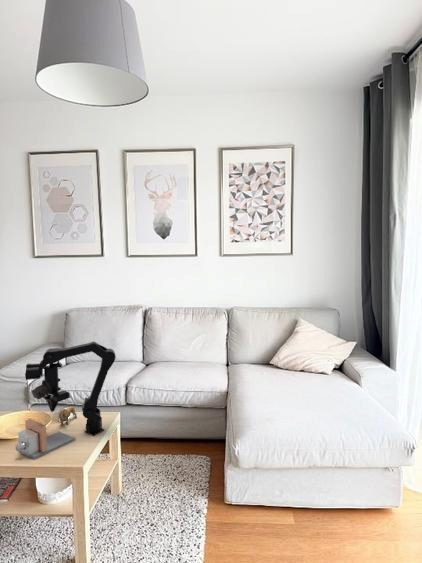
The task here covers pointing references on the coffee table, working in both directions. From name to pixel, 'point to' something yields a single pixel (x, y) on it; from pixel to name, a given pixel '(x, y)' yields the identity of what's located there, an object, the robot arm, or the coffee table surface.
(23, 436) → the bearing block
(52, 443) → the base board
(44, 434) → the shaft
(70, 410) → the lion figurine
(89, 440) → the coffee table surface
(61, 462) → the coffee table surface
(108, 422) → the coffee table surface
